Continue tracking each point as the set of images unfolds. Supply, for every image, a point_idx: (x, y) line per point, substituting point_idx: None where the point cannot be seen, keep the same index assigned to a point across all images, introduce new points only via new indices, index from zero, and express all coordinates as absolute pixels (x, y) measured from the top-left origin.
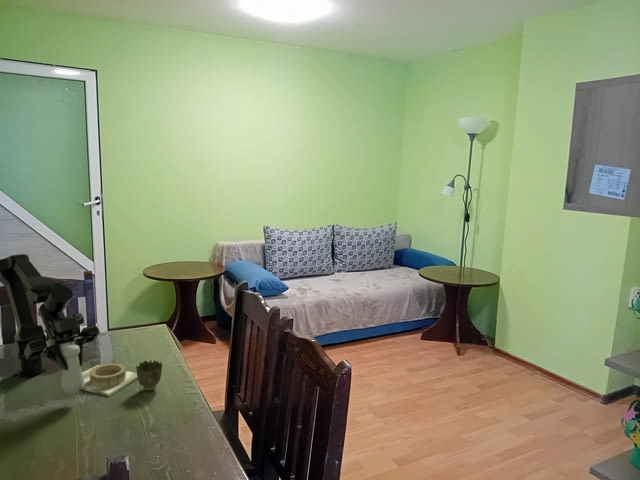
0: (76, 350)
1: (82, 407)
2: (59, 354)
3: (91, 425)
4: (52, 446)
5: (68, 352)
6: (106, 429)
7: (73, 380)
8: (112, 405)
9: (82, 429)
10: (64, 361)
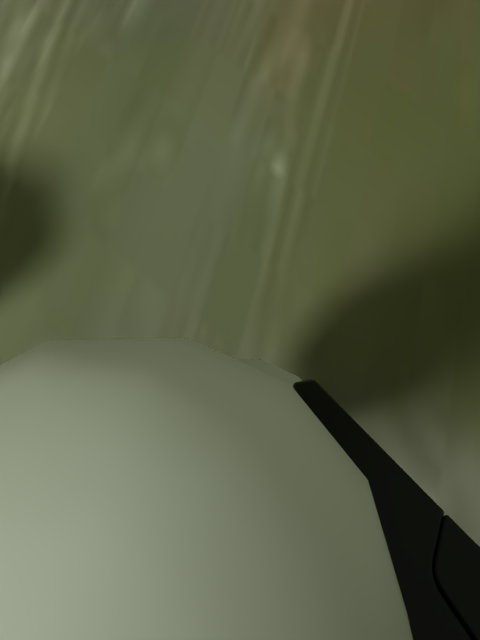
0: (22, 358)
1: (228, 345)
2: (474, 633)
3: (247, 133)
4: (442, 55)
5: (266, 379)
6: (204, 63)
7: (249, 363)
8: (95, 267)
9: (293, 121)
10: None
